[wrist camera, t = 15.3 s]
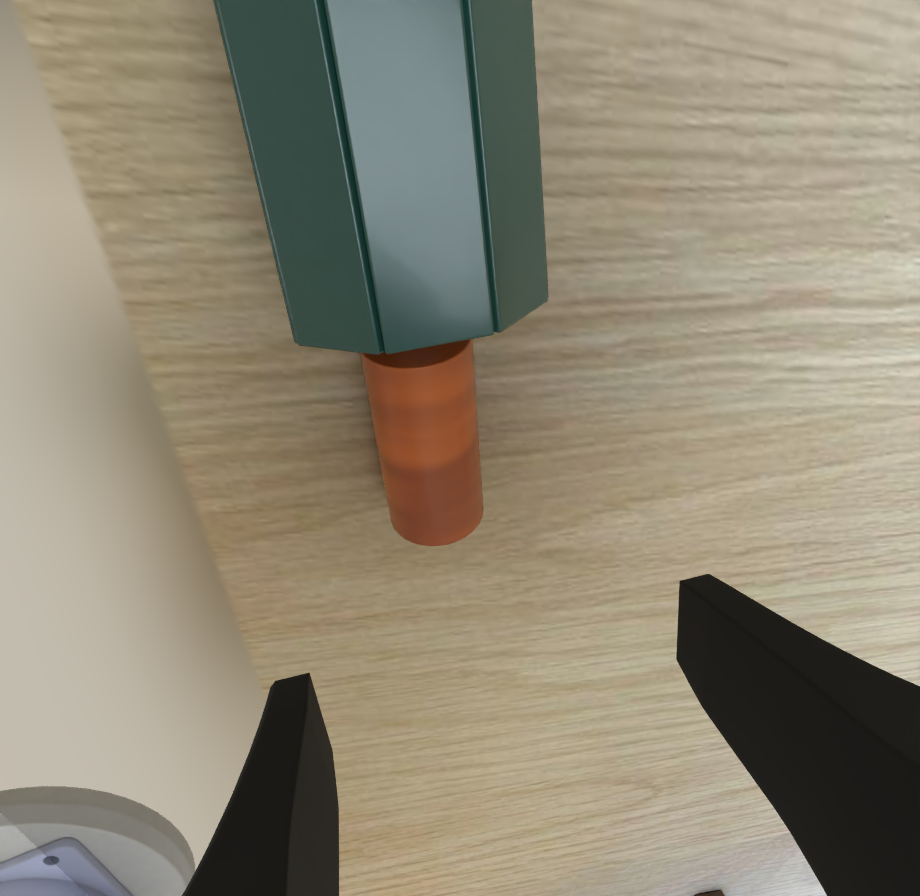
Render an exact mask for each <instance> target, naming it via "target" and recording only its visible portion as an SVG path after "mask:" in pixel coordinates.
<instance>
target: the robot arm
mask: <svg viewBox="0 0 920 896" xmlns="http://www.w3.org/2000/svg"><path fill="white" fill-rule="evenodd" d="M677 661H678V663H679V665H680V667H681V669H682V671H683V672H684V674H685V676H686V678H687V680H688V682H689V684H690V686H691V688H692V689H693V691H694V693H695V695H696V696H697V698H698V700H699V702H700V704H701V705H702V707H703V708H704V710H705V711H706V713H707V714H708V716H709V717H710V719H711V720H712V721H713V723H714V724H715V726H716V727H717V728H718V730H719V731H720V733H721V734H722V736H723V737H724V738H725V740H726V741H727V743H728V744H729V745H730V747H731V748H732V750H733V751H734V752H735V754H736V755H737V757H738V758H739V759H740V761H741V762H742V764H743V765H744V766H745V768H746V769H747V771H748V772H749V773H750V775H751V776H752V777H753V779H754V780H755V782H756V783H757V784H758V786H759V787H760V789H761V790H762V791H763V793H764V794H765V796H766V797H767V798H768V800H769V801H770V803H771V804H772V805H773V807H774V808H775V810H776V811H777V813H778V814H779V816H780V817H781V819H782V820H783V822H784V823H785V825H786V826H787V828H788V829H789V831H790V832H791V834H792V836H793V837H794V839H795V841H796V843H797V844H798V846H799V848H800V849H801V851H802V853H803V855H804V856H805V858H806V860H807V861H808V863H809V865H810V866H811V868H812V870H813V872H814V873H815V875H816V877H817V878H818V880H819V882H820V883H821V885H822V887H823V889H824V891H825V892H826V894H827V896H920V686H918V685H915V684H913V683H911V682H908V681H906V680H904V679H901V678H899V677H897V676H894V675H892V674H890V673H888V672H886V671H884V670H882V669H879V668H877V667H875V666H873V665H871V664H869V663H867V662H865V661H863V660H861V659H859V658H857V657H855V656H853V655H851V654H849V653H847V652H845V651H843V650H841V649H839V648H837V647H836V646H834V645H832V644H830V643H828V642H826V641H824V640H822V639H821V638H819V637H817V636H815V635H813V634H811V633H810V632H808V631H806V630H804V629H803V628H801V627H799V626H797V625H795V624H794V623H792V622H790V621H788V620H787V619H785V618H783V617H782V616H780V615H778V614H776V613H775V612H773V611H771V610H770V609H768V608H766V607H764V606H763V605H761V604H759V603H758V602H756V601H754V600H753V599H751V598H749V597H748V596H746V595H744V594H743V593H741V592H739V591H738V590H736V589H734V588H732V587H731V586H729V585H727V584H726V583H724V582H722V581H720V580H719V579H717V578H715V577H713V576H712V575H710V574H706V575H702V576H698V577H694V578H690V579H686V580H682V581H680V587H679V611H678V635H677ZM0 896H132V895H131V894H130V893H129V892H128V891H127V890H126V889H125V888H124V887H123V886H122V885H121V884H120V883H119V882H118V881H117V880H116V879H115V878H114V876H113V875H112V874H111V873H110V872H109V871H108V870H107V869H106V868H105V867H104V866H103V865H102V864H101V863H100V862H99V861H98V860H97V859H96V858H95V857H94V856H93V855H92V854H91V853H90V852H89V851H88V850H87V849H86V848H85V847H84V846H83V845H82V844H81V843H80V842H79V841H77V840H75V839H72V838H63V839H60V840H57V841H55V842H52V843H50V844H47V845H45V846H42V847H40V848H37V849H35V850H32V851H30V852H27V853H25V854H22V855H20V856H17V857H15V858H12V859H10V860H7V861H5V862H2V863H0ZM182 896H339V807H338V797H337V787H336V778H335V769H334V761H333V752H332V747H331V744H330V741H329V737H328V734H327V731H326V727H325V724H324V720H323V717H322V714H321V710H320V707H319V704H318V700H317V697H316V693H315V690H314V687H313V683H312V680H311V677H310V673H306V674H302V675H298V676H294V677H290V678H286V679H282V680H278V681H275V682H274V684H273V685H272V686H271V687H270V691H269V695H268V698H267V702H266V705H265V708H264V712H263V715H262V718H261V721H260V724H259V727H258V730H257V732H256V735H255V738H254V741H253V744H252V746H251V749H250V752H249V754H248V757H247V759H246V762H245V764H244V767H243V769H242V772H241V774H240V777H239V779H238V782H237V784H236V787H235V789H234V791H233V794H232V796H231V798H230V801H229V803H228V805H227V807H226V809H225V812H224V814H223V816H222V818H221V820H220V822H219V824H218V827H217V829H216V831H215V833H214V835H213V837H212V840H211V842H210V844H209V846H208V848H207V850H206V852H205V854H204V856H203V858H202V860H201V862H200V864H199V866H198V868H197V869H196V871H195V873H194V875H193V877H192V879H191V881H190V882H189V884H188V886H187V888H186V890H185V891H184V893H183V895H182Z"/></svg>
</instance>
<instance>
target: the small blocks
mask: <svg viewBox="0 0 920 896" xmlns="http://www.w3.org/2000/svg"><path fill="white" fill-rule="evenodd" d="M695 896H724V894H723V892H722V891H716V892H710V893H705V894H699V895H695Z"/></svg>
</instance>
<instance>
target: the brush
mask: <svg viewBox="0 0 920 896" xmlns="http://www.w3.org/2000/svg"><path fill="white" fill-rule="evenodd" d="M360 355H361V360H362V366H363V371H364V377H365V382H366V387H367V393H368V398H369V404H370V409H371V415H372V420H373V426H374V431H375V437H376V442H377V447H378V453H379V458H380V464H381V469H382V475H383V480H384V486H385V491H386V496H387V502H388V507H389V513H390V518H391V523H392V525H393V527H394V529H395V530H396V532H397V533H398V534H399V535H400V536H402V537H403V538H404V539H406V540H408V541H410V542H412V543H415V544H419V545H425V546H440V545H446V544H450V543H454V542H456V541H459V540H461V539H463V538H465V537H466V536H468V535H469V534H470V533H471V532H473V531H474V530H475V528H476V527H477V526H478V524H479V523H480V521H481V519H482V515H483V497H482V481H481V466H480V450H479V434H478V419H477V403H476V387H475V372H474V356H473V340H472V339H468V340H463V341H457V342H452V343H447V344H441V345H436V346H430V347H425V348H419V349H414V350H409V351H403V352H398V353H392V354H386V353H385V352H383V353H381V354H379V355H376V354H368V353H360Z"/></svg>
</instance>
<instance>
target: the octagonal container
mask: <svg viewBox="0 0 920 896" xmlns="http://www.w3.org/2000/svg"><path fill="white" fill-rule="evenodd" d="M213 1H214V5H215V10H216V14H217V18H218V22H219V26H220V31H221V35H222V39H223V43H224V47H225V52H226V56H227V60H228V64H229V69H230V73H231V77H232V81H233V85H234V90H235V94H236V98H237V102H238V106H239V111H240V115H241V119H242V123H243V127H244V132H245V136H246V140H247V144H248V149H249V153H250V157H251V161H252V165H253V170H254V174H255V178H256V182H257V186H258V191H259V195H260V199H261V203H262V207H263V212H264V216H265V220H266V224H267V229H268V233H269V237H270V241H271V245H272V250H273V254H274V258H275V262H276V266H277V271H278V275H279V279H280V283H281V287H282V292H283V296H284V300H285V304H286V309H287V313H288V317H289V321H290V325H291V330H292V334H293V338H294V342H295V343H297V344H299V345H300V346H308V347H317V348H325V349H334V350H342V351H351V352H359V353H368V354H376V355H379V354H381V353H383V352H385V353H386V354H392V353H398V352H403V351H409V350H414V349H419V348H425V347H430V346H436V345H441V344H447V343H452V342H457V341H463V340H468V339H474V338H479V337H485V336H490V335H493V334H494V332H499V333H500V332H502V331H503V330H505V329H506V328H508V327H509V326H511V325H512V324H514V323H515V322H517V321H518V320H520V319H521V318H523V317H524V316H526V315H527V314H529V313H530V312H532V311H533V310H535V309H536V308H538V307H539V306H541V305H542V304H544V303H545V302H547V301H548V280H547V262H546V245H545V227H544V209H543V191H542V173H541V156H540V138H539V120H538V102H537V84H536V67H535V49H534V31H533V13H532V0H213Z"/></svg>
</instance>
